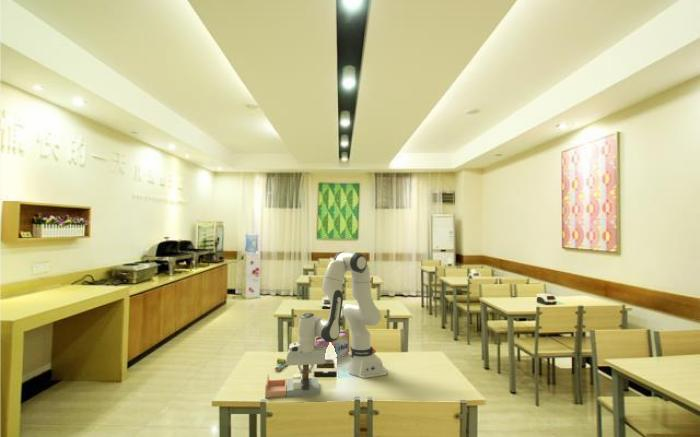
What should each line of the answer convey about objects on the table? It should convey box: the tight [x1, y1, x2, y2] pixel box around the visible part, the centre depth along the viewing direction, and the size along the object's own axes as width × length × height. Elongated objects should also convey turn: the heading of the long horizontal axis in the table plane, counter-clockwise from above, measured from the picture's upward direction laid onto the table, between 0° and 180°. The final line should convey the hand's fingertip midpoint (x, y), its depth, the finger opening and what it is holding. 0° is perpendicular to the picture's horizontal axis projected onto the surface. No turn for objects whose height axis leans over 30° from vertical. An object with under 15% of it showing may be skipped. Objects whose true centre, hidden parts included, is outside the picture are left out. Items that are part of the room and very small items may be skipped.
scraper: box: [301, 365, 310, 390], centre depth 176 cm, size 3×18×8 cm, turn 9°
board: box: [286, 377, 320, 398], centre depth 176 cm, size 16×13×3 cm
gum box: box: [315, 331, 350, 359], centre depth 223 cm, size 24×8×14 cm, turn 134°
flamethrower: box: [274, 357, 288, 372], centre depth 212 cm, size 29×3×10 cm
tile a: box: [292, 373, 302, 380], centre depth 179 cm, size 4×4×3 cm
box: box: [264, 374, 287, 399], centre depth 174 cm, size 10×13×6 cm
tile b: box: [293, 379, 301, 389], centre depth 172 cm, size 4×4×3 cm
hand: (305, 372), depth 176 cm, fingers closed on scraper, 3 cm apart
